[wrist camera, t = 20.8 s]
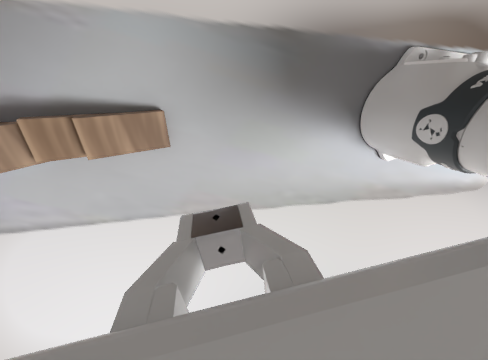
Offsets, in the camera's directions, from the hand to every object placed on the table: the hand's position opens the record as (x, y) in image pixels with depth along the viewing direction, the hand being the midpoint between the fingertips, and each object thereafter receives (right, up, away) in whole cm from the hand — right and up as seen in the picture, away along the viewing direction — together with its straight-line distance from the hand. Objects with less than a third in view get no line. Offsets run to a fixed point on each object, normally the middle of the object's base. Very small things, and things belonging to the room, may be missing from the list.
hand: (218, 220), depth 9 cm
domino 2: (-16, +9, +19) cm, 26 cm away
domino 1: (-10, +9, +20) cm, 24 cm away
